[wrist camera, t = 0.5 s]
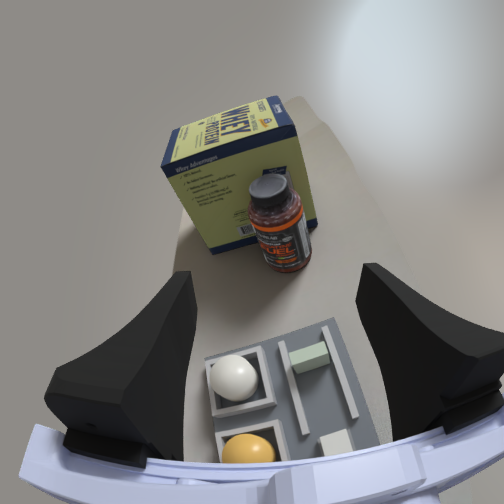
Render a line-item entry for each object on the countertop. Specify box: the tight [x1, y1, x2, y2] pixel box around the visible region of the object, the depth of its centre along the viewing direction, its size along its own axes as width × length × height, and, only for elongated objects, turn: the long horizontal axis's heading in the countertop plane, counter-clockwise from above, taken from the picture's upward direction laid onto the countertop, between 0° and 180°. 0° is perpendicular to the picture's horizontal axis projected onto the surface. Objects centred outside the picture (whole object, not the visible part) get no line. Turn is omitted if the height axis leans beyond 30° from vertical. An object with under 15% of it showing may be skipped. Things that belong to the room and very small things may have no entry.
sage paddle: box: [289, 341, 330, 374], centre depth 25 cm, size 1×3×3 cm, turn 101°
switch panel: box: [205, 317, 380, 463], centre depth 24 cm, size 16×14×3 cm
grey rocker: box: [320, 429, 353, 456], centre depth 19 cm, size 3×2×1 cm
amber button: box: [222, 434, 276, 464], centre depth 20 cm, size 4×4×2 cm
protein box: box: [161, 96, 318, 255], centre depth 38 cm, size 10×16×16 cm
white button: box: [209, 355, 259, 402], centre depth 25 cm, size 4×4×2 cm
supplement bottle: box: [248, 173, 312, 272], centre depth 33 cm, size 6×6×11 cm
